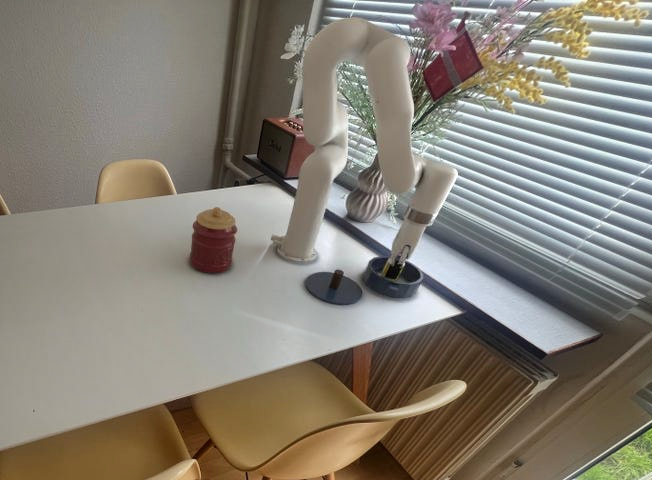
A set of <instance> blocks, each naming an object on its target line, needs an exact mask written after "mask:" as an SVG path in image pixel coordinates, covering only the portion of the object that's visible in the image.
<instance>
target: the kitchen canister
mask: <svg viewBox="0 0 652 480" xmlns="http://www.w3.org/2000/svg"><path fill="white" fill-rule="evenodd" d="M195 219H196V220H195V221H194V222H193V223H192V229H193V232H192V234H191V244H190V245H191V247H190V253H189V260H190V265H191V266H192V268H194V269H195V270H198V271H199V272H203V273H207V274H221V273H223V272H226V271H227V270H229V269H230V267H231V265H232V263H233V253H234V249H235V248H234V247H235V243H236V236H235V235H236V234H237V232H238V226H237V225H236V218H235V217H234V216H233V215H232V214H231V213H230V212H228V211H226V210H223V209H221V208H220V207H218V206H215V207H214V208H210V209H206V210H205V209H204V211H201V212H199V213H198V214H196V217H195Z"/></svg>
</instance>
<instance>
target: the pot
mask: <svg viewBox="0 0 652 480" xmlns="http://www.w3.org/2000/svg"><path fill="white" fill-rule="evenodd" d="M390 257H391V256H387V255H386V256H385V255H380V256H375V257H373V258H371V259H369V260H368V263H367V265H366V267H365V270H364V273H363V276H362V281H363V283H364V285H365V286H366V287H367V288H368V289H370V290H371V291H372V292H374V293H377V295H378V294H379V295H380V296H383V297H387V298H390V299H401V300H403V299H408V298H409V299H410V298H412V297H413V296H415V294H416V293H417V291H418V290H419V288H420V286H421V285H422V282H423V281H424V273H423V271H422V270H421V269H420V268H419V267H418V266H417V265H415V264H413V263H412V262H410V261H408V260H406V261H405V262H404V263H405V265H404V267H403V269H402V271H401V273H400V275H399V277H400V278H402V279H404V280H406V281H407V282H402V281H401V282H400V281H392V280H389V279H386V278H384V277H382V276H380V275H381V274H379V273H378V272H382V271H383V269H384V267H385V265H386V263H387V261H388V259H389V258H390Z"/></svg>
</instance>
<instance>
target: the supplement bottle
mask: <svg viewBox="0 0 652 480" xmlns="http://www.w3.org/2000/svg"><path fill="white" fill-rule="evenodd" d="M398 255H400V256H401V254H398ZM390 257H391V258H389V259H388V261H387V263H386V265H385V267H384V269H383V271H381V273H380V274H379V275H380V276H382V277H384V278H386V279H389V280H392V281H396V282H398V278H399V277H400V276H399V275H400V273H401V271H402V269H403V267H404V265H405V263H404V264H403V266H402V269H401V271H400V273H399V275H398V277H397V279H391V278H387V277H385V274H386V272H387V270H388V268H389V266H390V264H392V262H393V260H394V258H395V256H392V254H391V255H390ZM397 260H399V258H397ZM397 260H396V261H397ZM405 261H407V259H406V260H405Z"/></svg>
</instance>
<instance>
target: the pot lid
mask: <svg viewBox="0 0 652 480" xmlns="http://www.w3.org/2000/svg"><path fill="white" fill-rule="evenodd" d="M344 274H345V272H344V271H343V270H342V269H335V270H334V272H333V271H332V272H331V271H317V272H313V273H312V274H311V273H310V275H308V276H307V277H306V279H305V282H304V285H305V288H306V291H307V292H309V293H310V295H312V296H313V297H314V298H316V299H318V300H319V301H322V302H325V303H327V304H332V305H337V306H350V305H354V304H356V303H358V302H359V301H361V299H362V298H363V294H364V293H363V289H362V287H361V286H360V284H359V283H358V282H356V281H355V280H354V279H352V278H351V277H348V276H347V275H344Z"/></svg>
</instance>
